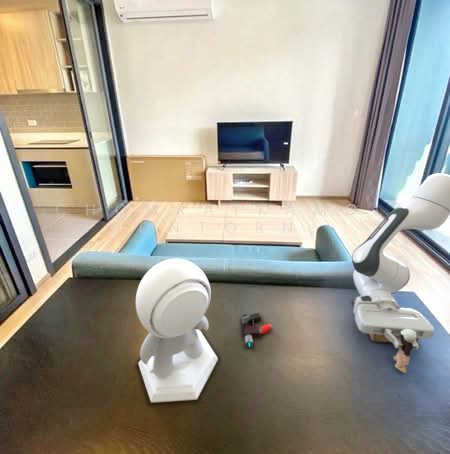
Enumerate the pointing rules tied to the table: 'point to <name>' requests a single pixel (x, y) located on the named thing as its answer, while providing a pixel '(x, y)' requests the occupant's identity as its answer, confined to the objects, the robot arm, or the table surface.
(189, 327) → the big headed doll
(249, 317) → the toy gun
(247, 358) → the table surface
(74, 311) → the table surface
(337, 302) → the table surface
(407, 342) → the grandmother figurine
